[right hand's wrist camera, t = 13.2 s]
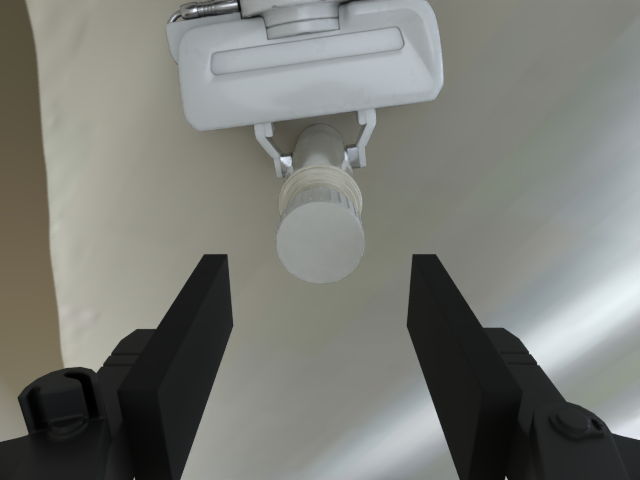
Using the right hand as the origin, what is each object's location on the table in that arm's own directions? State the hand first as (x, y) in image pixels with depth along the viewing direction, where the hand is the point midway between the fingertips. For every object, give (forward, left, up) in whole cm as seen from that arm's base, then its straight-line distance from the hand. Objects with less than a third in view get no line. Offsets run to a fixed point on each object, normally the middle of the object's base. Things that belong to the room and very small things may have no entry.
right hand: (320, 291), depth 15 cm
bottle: (0, 0, -30) cm, 30 cm away
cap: (0, 0, -5) cm, 5 cm away
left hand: (-1, -1, -23) cm, 23 cm away
